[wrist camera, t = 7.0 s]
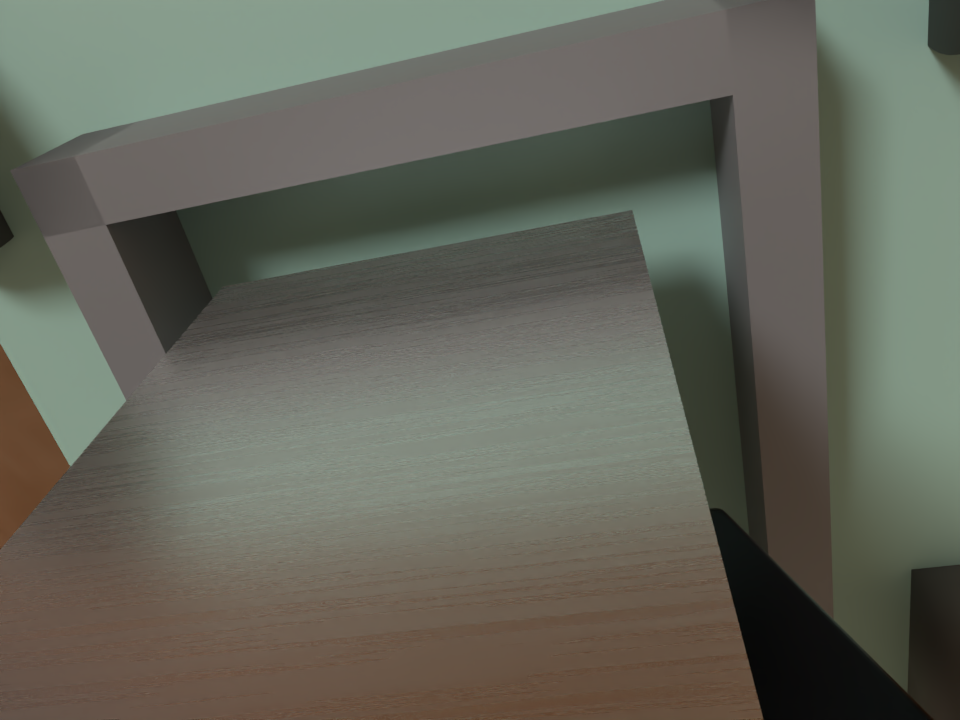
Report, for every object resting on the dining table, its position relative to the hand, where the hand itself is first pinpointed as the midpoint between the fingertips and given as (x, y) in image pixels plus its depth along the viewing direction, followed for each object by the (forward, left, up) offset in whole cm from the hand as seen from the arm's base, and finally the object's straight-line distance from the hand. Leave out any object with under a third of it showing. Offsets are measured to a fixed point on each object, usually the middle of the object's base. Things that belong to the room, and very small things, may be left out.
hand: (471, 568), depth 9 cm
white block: (0, 0, -2) cm, 2 cm away
